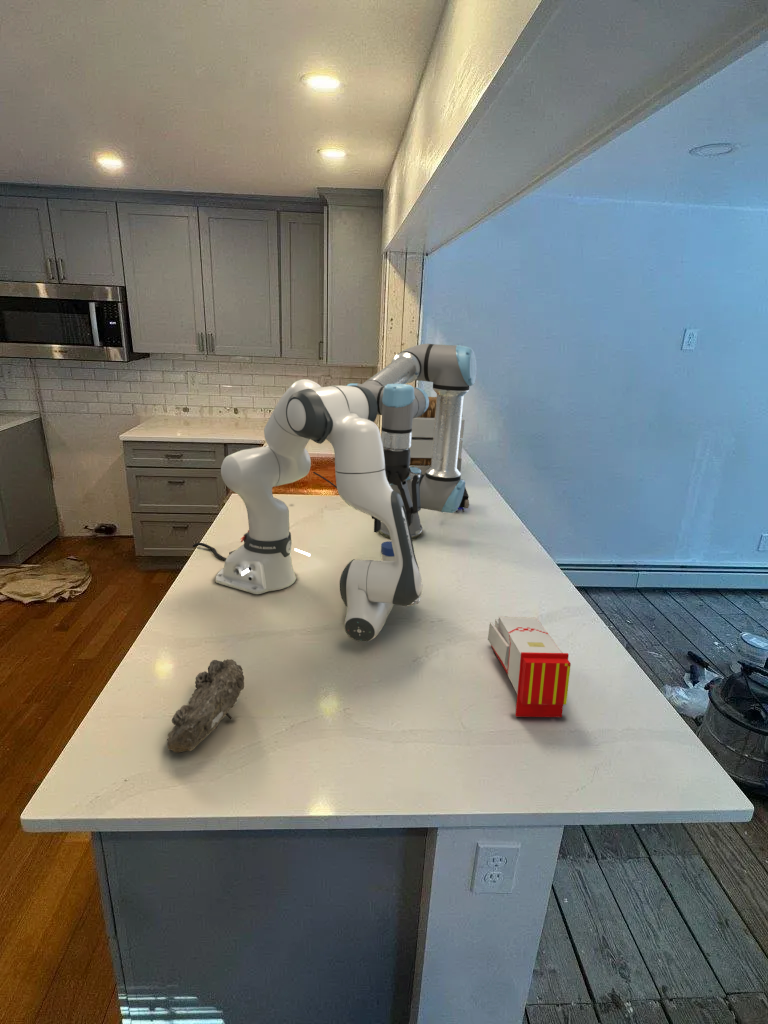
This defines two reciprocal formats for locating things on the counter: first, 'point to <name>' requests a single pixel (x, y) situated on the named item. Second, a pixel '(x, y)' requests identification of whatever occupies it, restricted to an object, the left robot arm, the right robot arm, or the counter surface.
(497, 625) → the toy
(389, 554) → the lid
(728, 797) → the counter surface
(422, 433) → the grey storage crate
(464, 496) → the figurine character
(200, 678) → the fossil
